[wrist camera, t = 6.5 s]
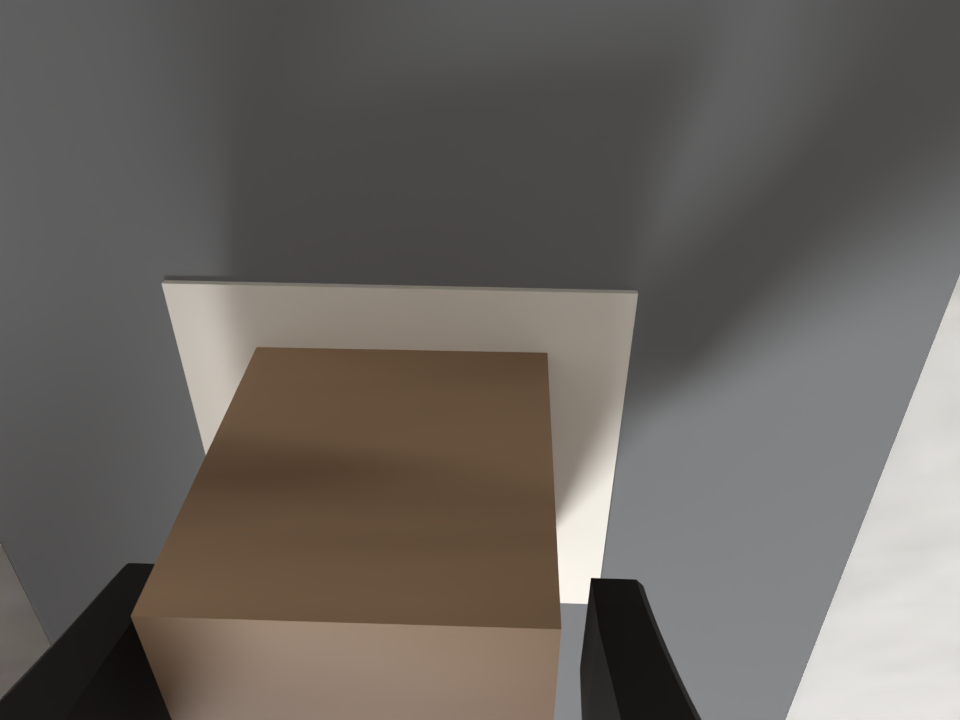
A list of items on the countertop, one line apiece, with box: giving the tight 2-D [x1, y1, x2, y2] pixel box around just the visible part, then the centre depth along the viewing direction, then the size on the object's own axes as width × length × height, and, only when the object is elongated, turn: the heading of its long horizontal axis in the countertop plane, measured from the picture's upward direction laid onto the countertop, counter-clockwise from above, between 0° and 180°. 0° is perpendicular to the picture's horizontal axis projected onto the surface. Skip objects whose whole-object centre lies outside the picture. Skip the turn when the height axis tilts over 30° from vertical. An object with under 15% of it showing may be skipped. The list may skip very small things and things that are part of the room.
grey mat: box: [0, 0, 960, 720], centre depth 14 cm, size 18×16×1 cm
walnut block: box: [131, 347, 561, 720], centre depth 12 cm, size 4×4×5 cm
